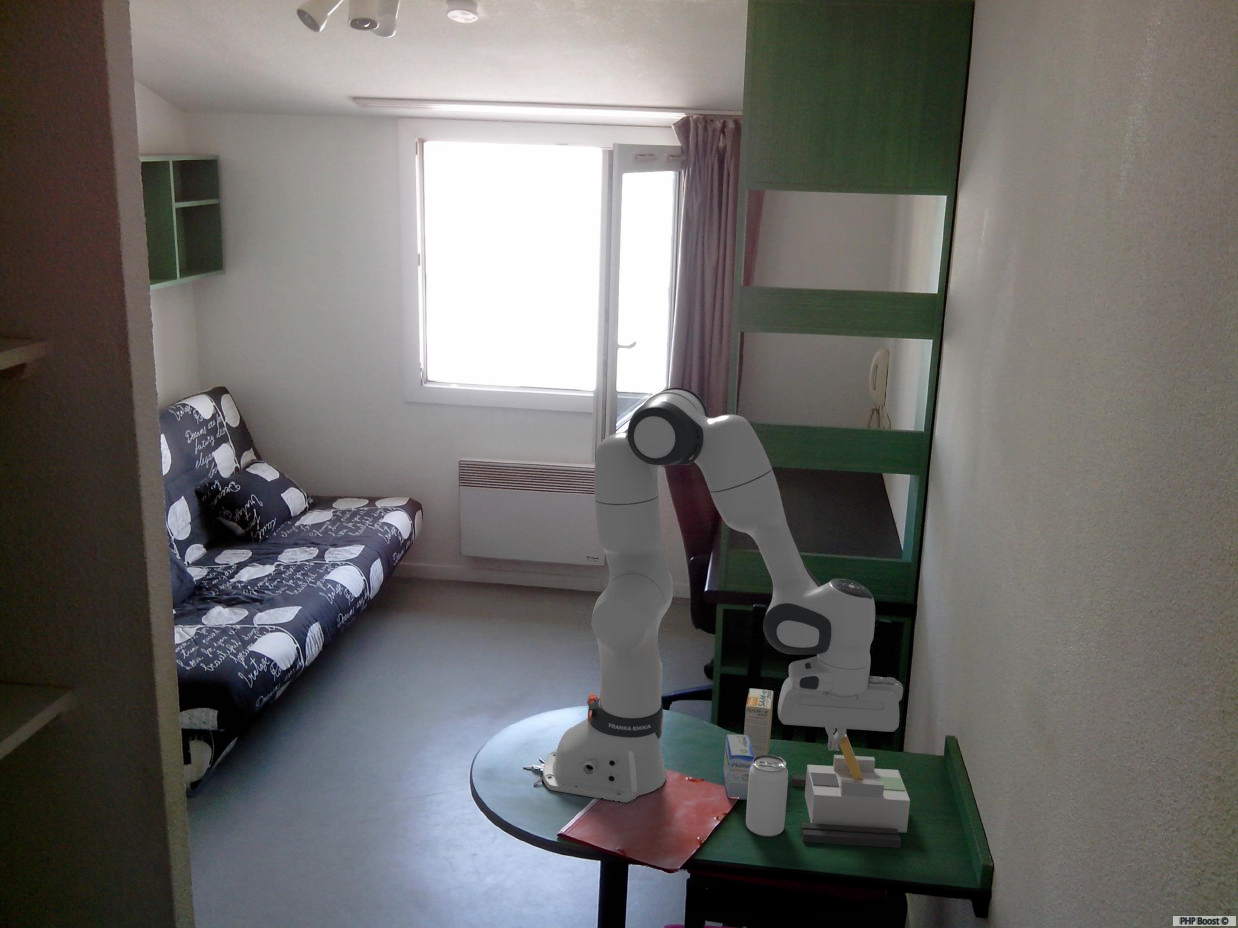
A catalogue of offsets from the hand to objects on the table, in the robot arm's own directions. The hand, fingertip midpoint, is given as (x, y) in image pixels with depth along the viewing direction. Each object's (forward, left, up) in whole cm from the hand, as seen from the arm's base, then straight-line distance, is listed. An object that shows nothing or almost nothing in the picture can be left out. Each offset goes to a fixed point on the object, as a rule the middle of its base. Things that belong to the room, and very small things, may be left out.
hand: (834, 748), depth 180 cm
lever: (+4, 0, -5) cm, 7 cm away
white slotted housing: (+4, 0, -12) cm, 13 cm away
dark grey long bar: (+2, +9, -12) cm, 15 cm away
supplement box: (-12, +16, -12) cm, 23 cm away
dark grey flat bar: (+2, -7, -12) cm, 14 cm away
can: (-12, -6, -12) cm, 18 cm away
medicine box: (-16, +6, -12) cm, 21 cm away
